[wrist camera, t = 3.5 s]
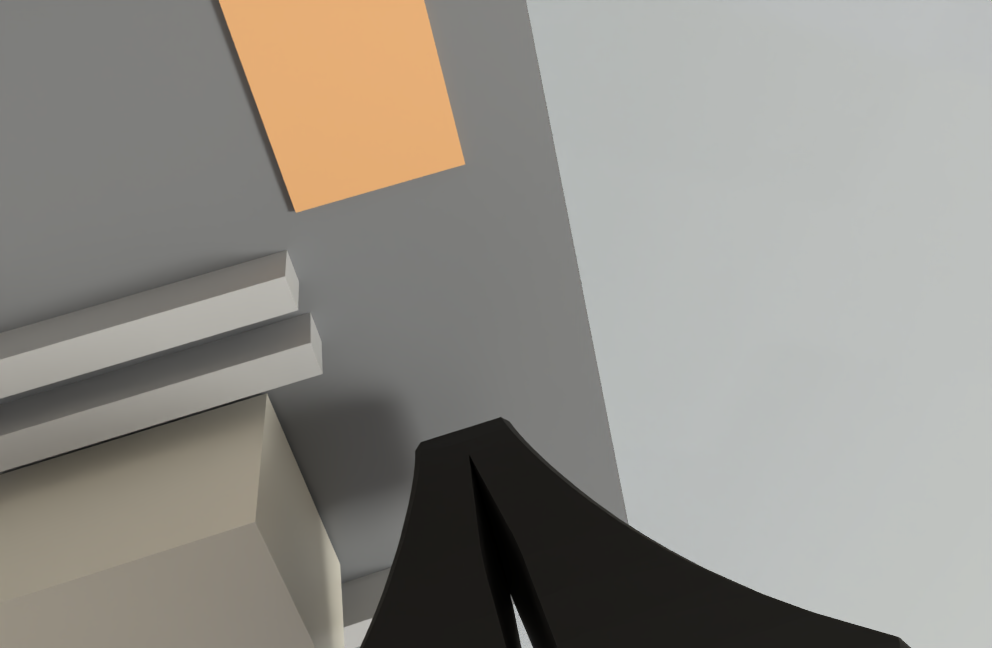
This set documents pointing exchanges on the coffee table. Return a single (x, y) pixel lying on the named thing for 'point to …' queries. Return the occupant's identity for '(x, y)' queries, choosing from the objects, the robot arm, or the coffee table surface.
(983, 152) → the coffee table surface
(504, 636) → the robot arm
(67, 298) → the switch board
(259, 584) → the tab
